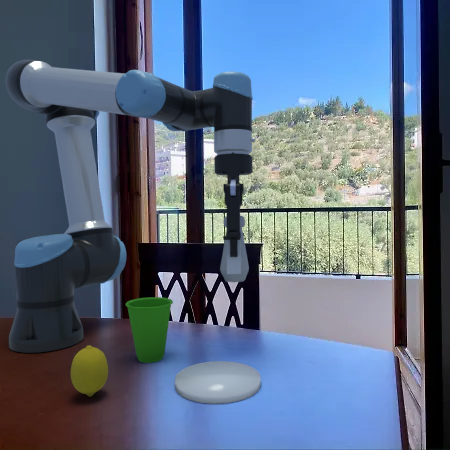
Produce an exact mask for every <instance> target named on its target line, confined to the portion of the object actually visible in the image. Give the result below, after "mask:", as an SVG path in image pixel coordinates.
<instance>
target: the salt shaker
mask: <svg viewBox="0 0 450 450" xmlns="http://www.w3.org/2000/svg"><path fill="white" fill-rule="evenodd" d="M245 225H246V220H245V217H244V216H243V215H240V233H241V238H240V240H241V274H227V240H224V244H223V249H222V254H221V255H222V257H221V261H220V267H219V271H220V273H221V275H222V277H223V279H224V281H225V282H226V283H227V282H228V283H241V282H242V283H243V282H244V281H245V280H246V278H247V275H248V273H249V269H250V267H249V261H248V254H247V249H246V243H245V235H244V236H243V233H244V232H243V228H244V227H245ZM223 227H225V228H227V215H226V216H225V217H224V218H223ZM226 233H227V229H226V232H225V234H226Z"/></svg>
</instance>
